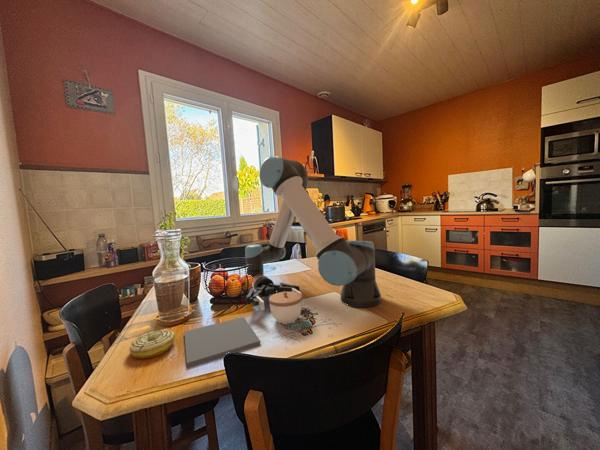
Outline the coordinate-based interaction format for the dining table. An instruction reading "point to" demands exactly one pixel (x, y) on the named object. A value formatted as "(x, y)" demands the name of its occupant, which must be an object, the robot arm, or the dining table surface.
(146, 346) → the decorated donut
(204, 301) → the dining table surface
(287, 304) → the lidded jar
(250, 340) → the mat
